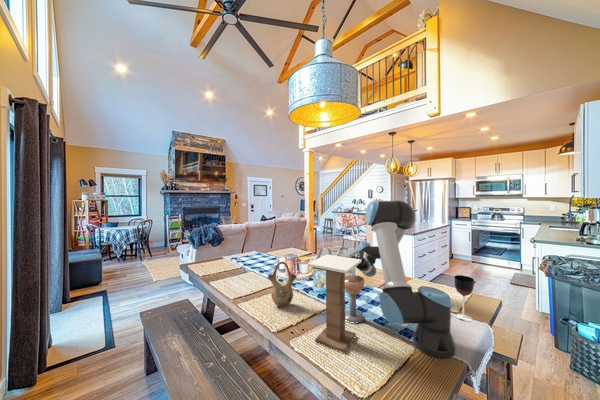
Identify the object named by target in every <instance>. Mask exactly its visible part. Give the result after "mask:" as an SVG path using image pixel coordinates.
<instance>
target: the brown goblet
mask: <svg viewBox="0 0 600 400" xmlns="http://www.w3.org/2000/svg"><path fill="white" fill-rule="evenodd" d="M364 288H365V278H364V277H362V276H360V275H356V274H347V275H346V274H345V293H347V294H349V310H345V320H347V321H349V322H354V323H356V322H361V323H362V322H363V321H364V314H363V313H362V312H360V311H358V310H357V295H359V294H360V293H361V290H363V289H364ZM349 322H348V323H349Z"/></svg>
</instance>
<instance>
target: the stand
mask: <svg viewBox="0 0 600 400" xmlns="http://www.w3.org/2000/svg"><path fill="white" fill-rule="evenodd" d="M312 269H316V270H319V271H325V289H326V290H325V303H326V304H325V312H326V314H325V316H326V317H325V318H326V320H325V321H326V323H325V324H326V327H325V328H323V330H322V331H321V332H320V333H319V334H318V336H317V337H316V338H315V339H314V343H315V342H317V343H316V344H318V343H320V344H323V345H325V346H324V347H326V346H327V347H326V348H328V347H330V348H329V349H331V348H332V349H331V350H333V349H335V350H334V351H336V350H338V351H337V352H339V351H341V352H343V353H342V354H345V353H346V352H345V351H347V350H348V349H349V347H350V346H351V344H352V343H353V341H354V340H353V339H355V338H356V337H357V334H356V333H355V332H352V331H349V330H347V329H346V321H345V311H346V289H345V276H346V273H342V272H337V271H331V270H326V269H321V268H316V267H312ZM355 336H356V337H355ZM354 337H355V338H354ZM352 340H353V341H352ZM351 342H352V343H351ZM350 343H351V344H350ZM320 344H319V345H320ZM323 345H322V346H323ZM349 345H350V346H349ZM347 348H348V349H347ZM346 349H347V350H346ZM341 352H340V353H341ZM344 352H345V353H344Z"/></svg>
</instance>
